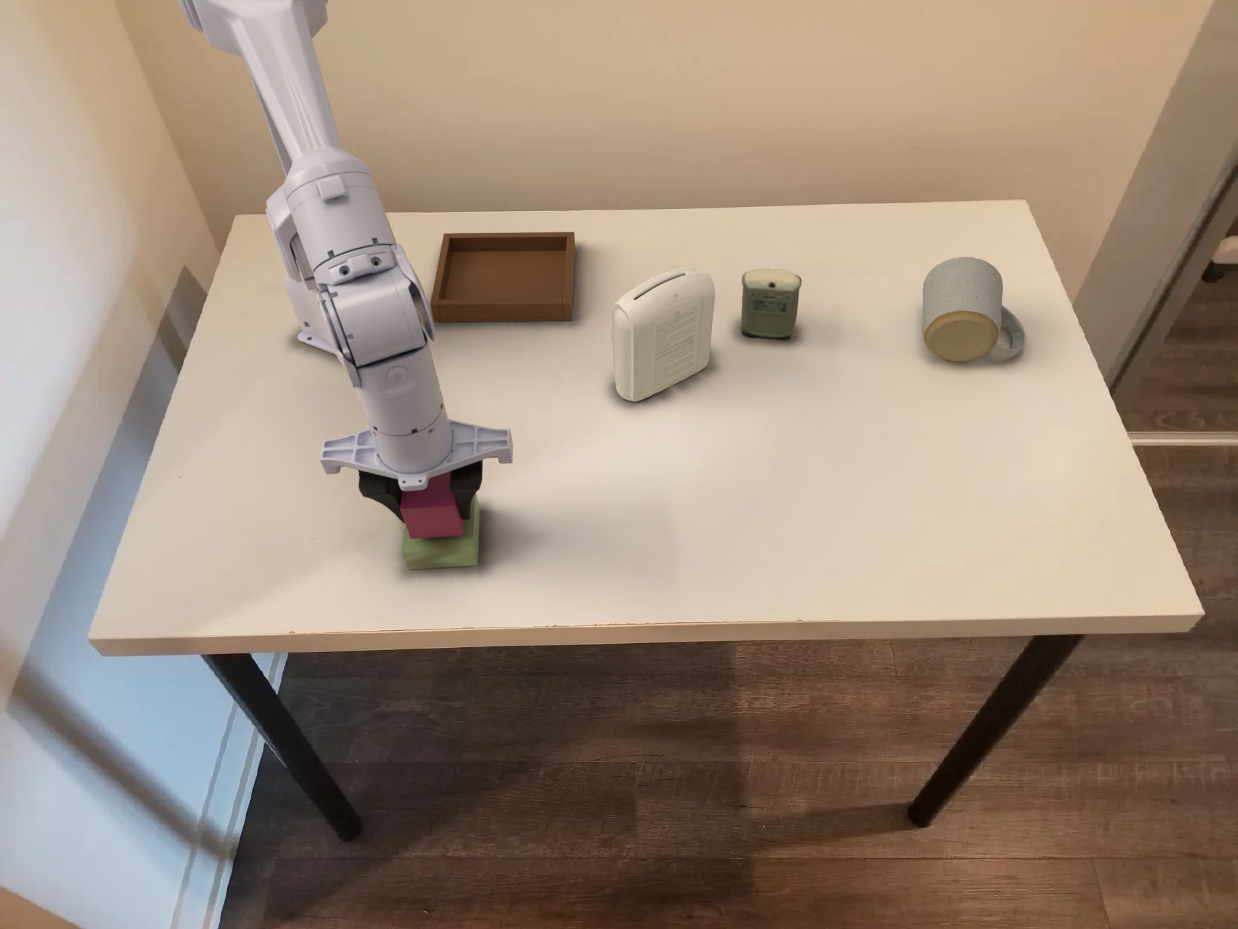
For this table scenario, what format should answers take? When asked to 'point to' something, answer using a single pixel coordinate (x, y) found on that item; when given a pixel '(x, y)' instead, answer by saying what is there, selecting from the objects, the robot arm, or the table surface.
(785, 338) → the grey-green labelled box
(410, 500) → the pink block
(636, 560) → the table surface
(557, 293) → the tray
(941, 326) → the ceramic mug
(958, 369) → the table surface
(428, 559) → the base slab
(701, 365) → the photo printer
